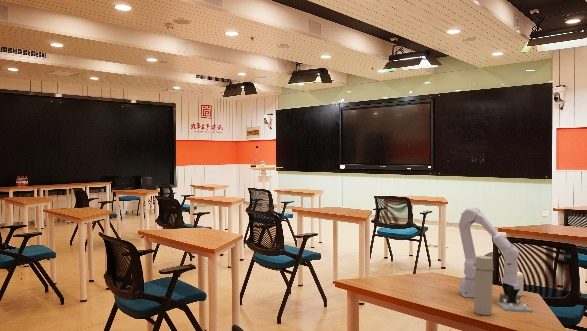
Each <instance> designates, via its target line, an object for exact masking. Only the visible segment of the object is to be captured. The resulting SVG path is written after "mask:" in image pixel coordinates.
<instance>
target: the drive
mask: <svg viewBox="0 0 587 331" xmlns="http://www.w3.org/2000/svg"><path fill="white" fill-rule="evenodd" d="M503 299H506V303H517V300H519V304H521V296H518V295H517V296H516V299H515V302H509V295H508V294H504V293H499V303H500V302H501V303H503Z"/></svg>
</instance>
